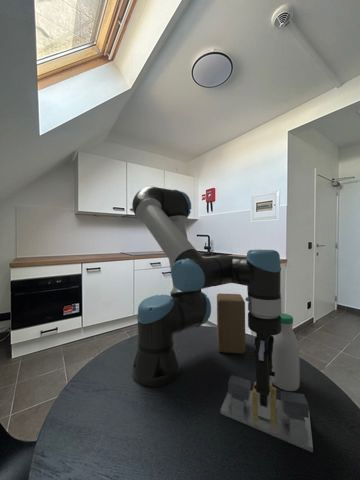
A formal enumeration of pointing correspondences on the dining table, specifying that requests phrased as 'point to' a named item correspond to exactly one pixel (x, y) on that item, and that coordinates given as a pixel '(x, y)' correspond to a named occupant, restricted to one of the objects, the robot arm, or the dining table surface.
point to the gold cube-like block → (272, 398)
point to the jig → (287, 413)
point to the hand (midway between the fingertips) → (265, 408)
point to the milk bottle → (286, 356)
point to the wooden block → (231, 323)
